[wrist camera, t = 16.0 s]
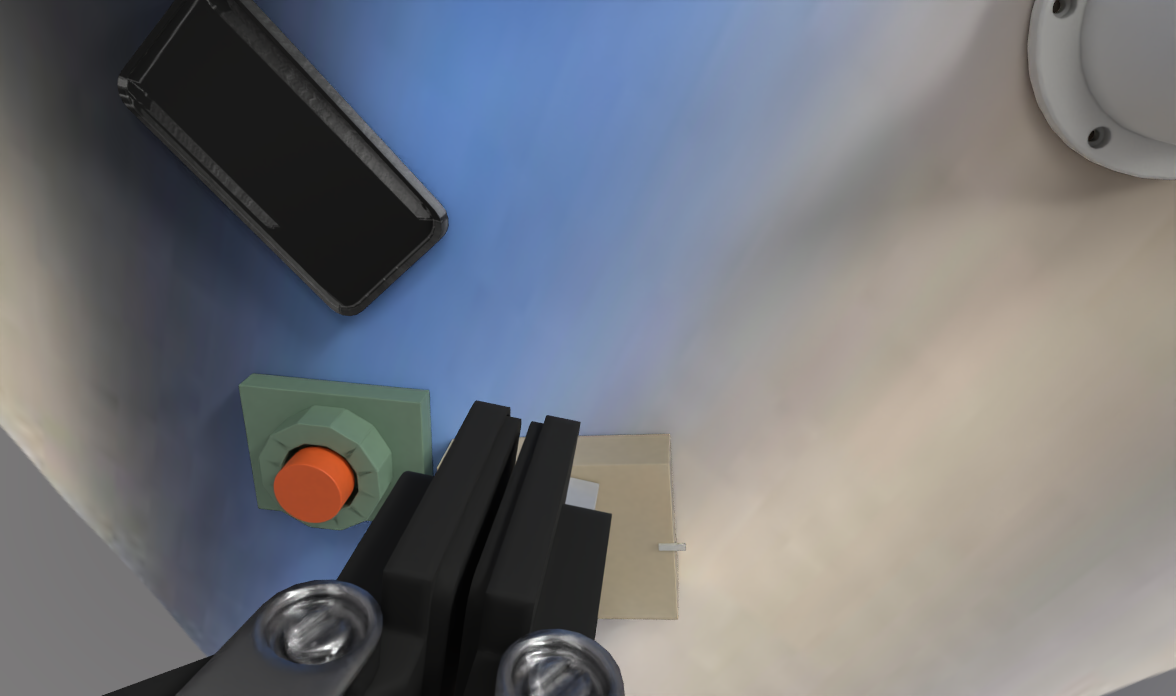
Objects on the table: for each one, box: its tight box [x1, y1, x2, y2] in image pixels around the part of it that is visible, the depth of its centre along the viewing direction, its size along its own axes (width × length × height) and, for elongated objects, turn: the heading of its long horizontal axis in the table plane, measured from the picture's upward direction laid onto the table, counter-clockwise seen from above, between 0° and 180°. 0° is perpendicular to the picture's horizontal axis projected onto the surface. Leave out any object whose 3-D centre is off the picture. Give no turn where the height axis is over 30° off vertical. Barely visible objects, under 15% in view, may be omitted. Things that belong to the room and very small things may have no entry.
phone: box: [118, 0, 448, 316], centre depth 35 cm, size 8×1×15 cm
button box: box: [239, 374, 433, 530], centre depth 41 cm, size 10×8×4 cm
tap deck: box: [437, 434, 686, 620], centre depth 41 cm, size 13×13×3 cm
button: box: [274, 446, 355, 523], centre depth 39 cm, size 4×4×2 cm
